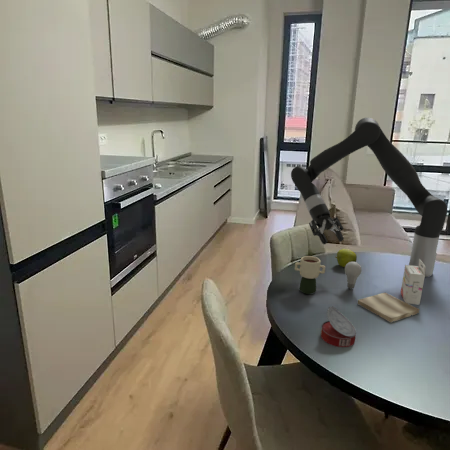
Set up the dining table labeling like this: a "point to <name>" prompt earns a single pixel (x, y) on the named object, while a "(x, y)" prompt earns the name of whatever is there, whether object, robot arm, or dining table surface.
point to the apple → (345, 257)
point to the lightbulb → (352, 273)
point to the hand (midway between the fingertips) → (333, 242)
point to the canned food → (338, 329)
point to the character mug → (309, 273)
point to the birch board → (388, 307)
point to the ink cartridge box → (413, 283)
